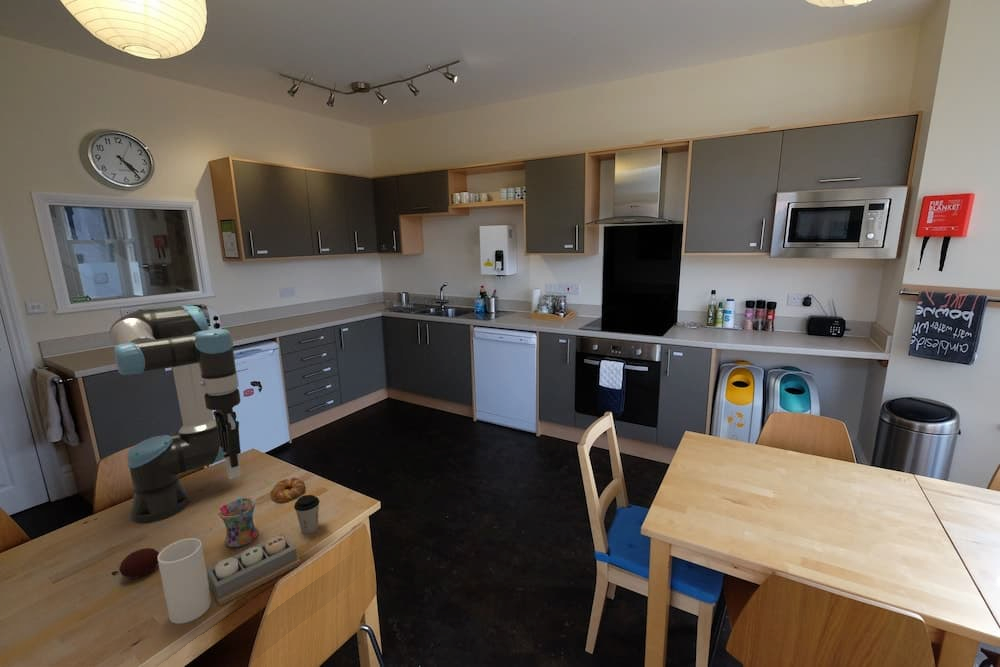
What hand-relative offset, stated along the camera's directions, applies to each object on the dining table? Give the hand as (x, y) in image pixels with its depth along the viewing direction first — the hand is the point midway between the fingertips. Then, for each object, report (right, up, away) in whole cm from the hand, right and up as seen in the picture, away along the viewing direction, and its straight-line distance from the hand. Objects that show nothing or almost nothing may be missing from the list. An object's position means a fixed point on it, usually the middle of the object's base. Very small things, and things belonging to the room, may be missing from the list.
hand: (234, 475), depth 117 cm
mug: (-5, -22, +13) cm, 27 cm away
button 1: (+2, -23, -5) cm, 24 cm away
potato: (-24, -26, 0) cm, 35 cm away
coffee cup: (+13, -22, +16) cm, 30 cm away
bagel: (-3, -18, +36) cm, 40 cm away
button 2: (+6, -23, -1) cm, 23 cm away
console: (+6, -25, -1) cm, 26 cm away
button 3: (+10, -22, +3) cm, 24 cm away
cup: (-3, -28, -12) cm, 30 cm away
